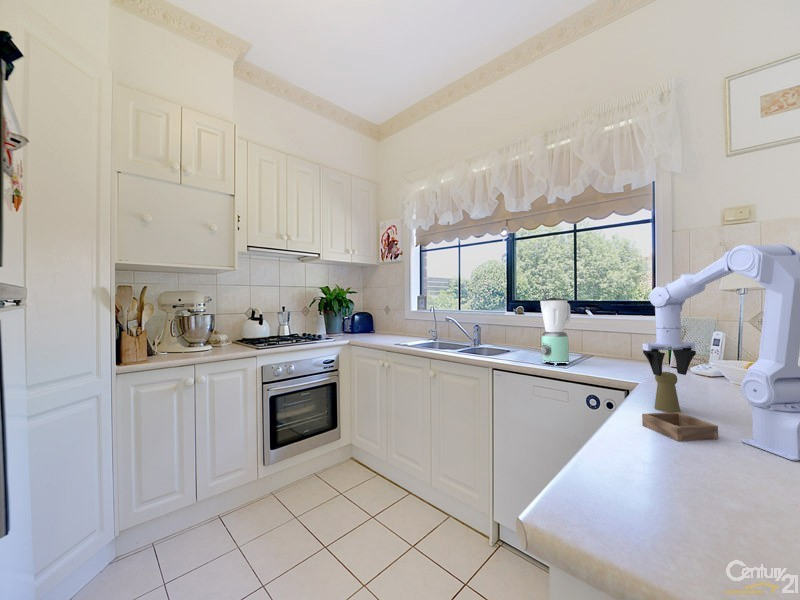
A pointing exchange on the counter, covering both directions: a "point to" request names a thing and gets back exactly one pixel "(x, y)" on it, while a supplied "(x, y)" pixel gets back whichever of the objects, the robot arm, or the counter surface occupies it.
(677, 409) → the cork
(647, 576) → the counter surface
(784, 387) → the robot arm
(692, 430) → the wooden tray
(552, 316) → the mint green blender
